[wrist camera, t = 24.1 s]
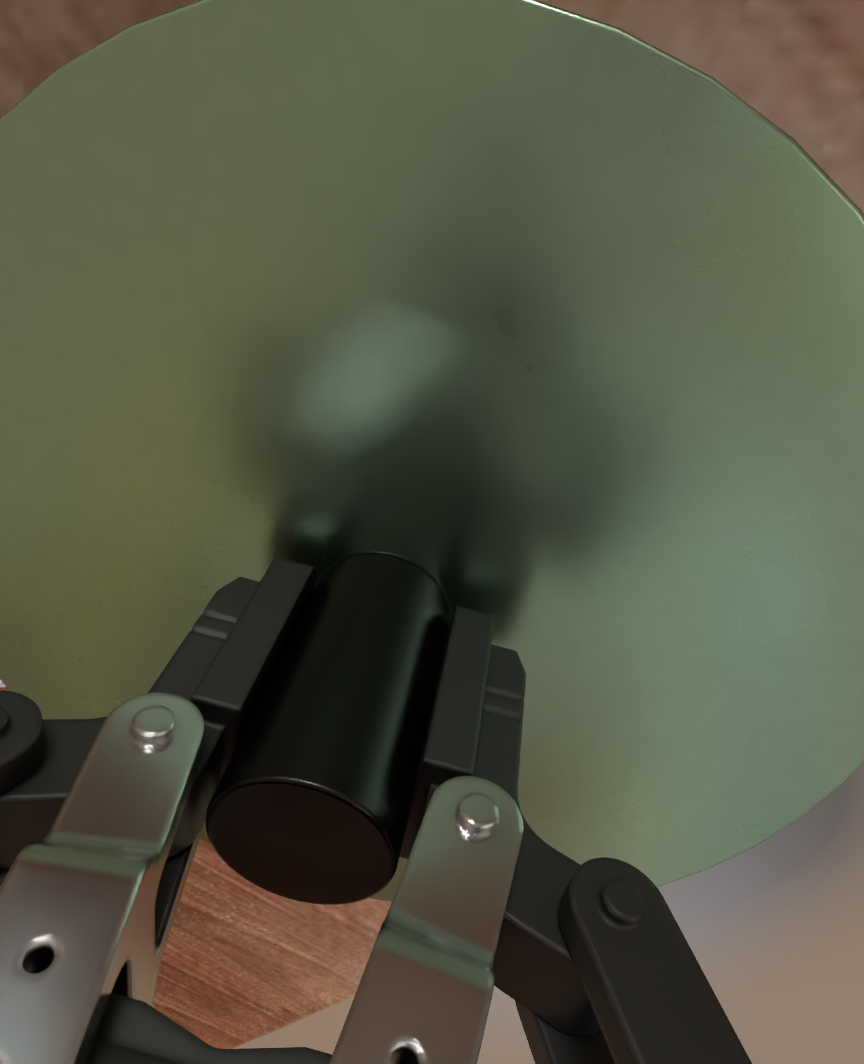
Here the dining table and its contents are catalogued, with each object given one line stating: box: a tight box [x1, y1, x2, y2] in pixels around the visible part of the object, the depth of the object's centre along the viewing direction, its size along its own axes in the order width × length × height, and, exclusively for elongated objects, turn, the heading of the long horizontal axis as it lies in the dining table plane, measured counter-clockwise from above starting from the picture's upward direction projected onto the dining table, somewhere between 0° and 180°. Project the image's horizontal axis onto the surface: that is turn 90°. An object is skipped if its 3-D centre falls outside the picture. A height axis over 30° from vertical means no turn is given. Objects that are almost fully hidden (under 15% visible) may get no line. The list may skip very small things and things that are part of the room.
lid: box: [0, 0, 864, 905], centre depth 12 cm, size 19×19×6 cm
